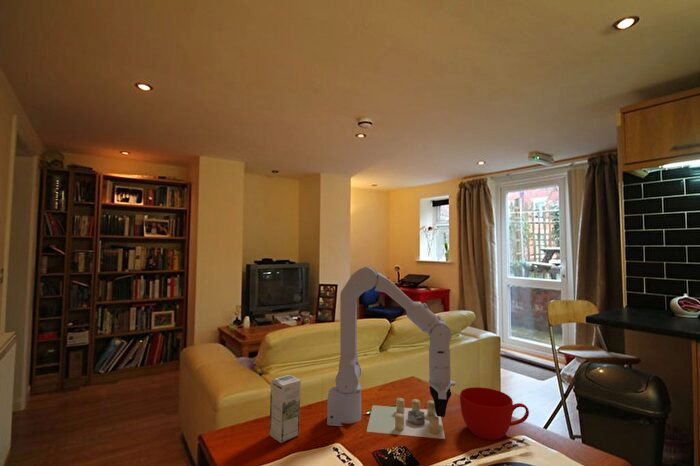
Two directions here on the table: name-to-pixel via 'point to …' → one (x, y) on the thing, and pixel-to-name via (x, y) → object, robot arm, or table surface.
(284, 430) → the syrup box
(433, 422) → the board
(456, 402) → the table surface
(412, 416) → the grey faceted polyhedron
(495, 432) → the ceramic cup
